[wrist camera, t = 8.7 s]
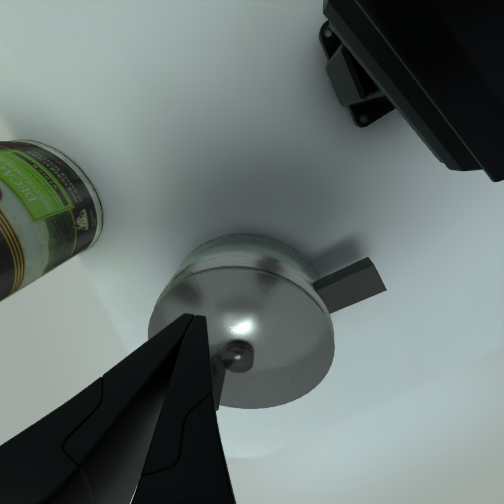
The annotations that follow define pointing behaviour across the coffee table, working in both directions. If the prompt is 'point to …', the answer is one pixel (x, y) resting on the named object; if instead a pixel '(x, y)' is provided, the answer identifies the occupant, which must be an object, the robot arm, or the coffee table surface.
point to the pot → (285, 269)
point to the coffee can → (42, 213)
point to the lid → (254, 333)
